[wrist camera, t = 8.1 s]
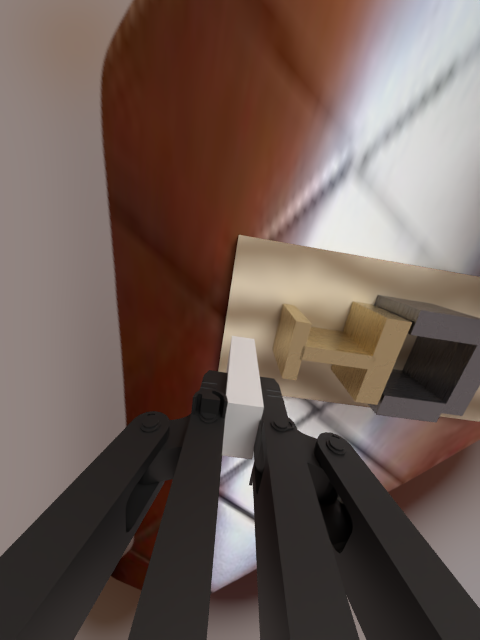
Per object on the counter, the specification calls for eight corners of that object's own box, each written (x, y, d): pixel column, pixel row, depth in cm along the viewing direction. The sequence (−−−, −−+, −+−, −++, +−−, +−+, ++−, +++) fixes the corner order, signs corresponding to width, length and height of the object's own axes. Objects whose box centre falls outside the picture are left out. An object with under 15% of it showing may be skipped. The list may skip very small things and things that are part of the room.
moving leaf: (285, 290, 22) (300, 304, 17) (372, 304, 22) (412, 322, 17) (269, 360, 24) (278, 391, 19) (348, 371, 25) (377, 404, 20)
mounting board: (238, 235, 21) (238, 234, 20) (548, 289, 23) (561, 291, 22) (216, 381, 26) (215, 387, 25) (473, 415, 28) (481, 421, 27)
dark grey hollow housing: (377, 294, 22) (421, 310, 17) (450, 306, 23) (514, 325, 17) (347, 379, 25) (376, 414, 20) (412, 388, 26) (457, 425, 20)
